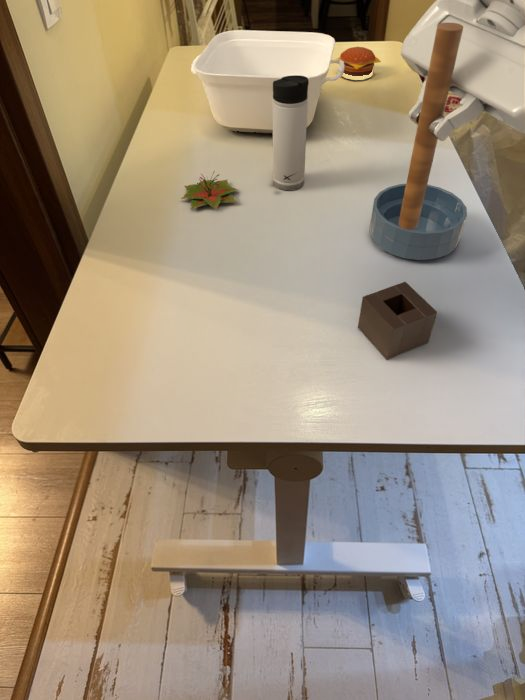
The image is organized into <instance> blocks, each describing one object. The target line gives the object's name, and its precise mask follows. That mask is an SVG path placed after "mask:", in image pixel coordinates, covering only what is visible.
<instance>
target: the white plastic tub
mask: <svg viewBox="0 0 525 700" xmlns="http://www.w3.org/2000/svg"><path fill="white" fill-rule="evenodd" d="M335 46H336V40H335V38H334V37H332V36H331V35H329V34H325V33H322V32H314V31H313V32H309V31H283V30H282V31H280V30H278V31H277V30H256V29H255V30H251V29H235V30H234V29H233V30H227V31H222V32H221V33H217V34H215V35H214V36H212V39H211V40H210V41H209V42H208V44H207V45H206V47H205V48H204V49H203V51H202V52H201V53H200V54H198V55H197V56H196V57H194V59H193V60H192V63H191V65H190V72H191V73H192V74H193V75H195V76H197V77H198V78H199V79H200V81H201V83H202V85H203V89H204V92H205V96H206V98H207V101H208V105H209V108H210V111H211V114H212V117H213V119H214V121H216V122H217V123H218V125H220V126H222V127H223V128H225V129H226V130H228V131H232V132H237V131H239V133H254V132H256V134H257V133H258V134H271V133H272V135H273V82H274V81H277V80H279V79H282V77H285V76H293V75H299V76H305V77H307V78H308V81H309V85H308V92H307V93H308V100H307V101H308V104H307V127H306V129H307V128H308V127H309V126H310V125H311V123H312V122H313V120H314V117H315V114H316V110H317V106H318V103H319V97H320V94H322V93H321V92H322V90H323V86H324V85H325V83H327V82H336V81H338V80H339V79H341V78H342V75H343V72H344V62H343V61H342V60H339V59H337V58H335V59H336V60H335V59H332V58H333V54H334V50H335ZM332 64H337V65H338V68H337V73H336V74H335V75H334V76H332V77H327V76H328V73H329V70H330V66H331V65H332Z"/></svg>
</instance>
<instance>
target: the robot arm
mask: <svg viewBox="0 0 525 700" xmlns="http://www.w3.org/2000/svg"><path fill="white" fill-rule="evenodd" d="M441 23H457V24H460V25H462V26H463V32H462V36H461V40H460V45H459V49H458V53H457V58H456V62H455V66H454V71H453V75H452V79H451V84H450V88H449V92H448V93H451V94H452V95H454V96H456V97H458V98H460V101H459V103H458V104H459V105H460V106H459V107H457V108H456V109H454V110H452V111H451V112H449V113H447V114H446V115H445V116H444V115H443V116H442V115H439V116H438V117H437V118H436V119H435V121H434V122H433V123H431V124H430V126H429V131H430V132H431V133H432V135H433V136H435V137H436V138H437V139H438V141H440V142H444V141H446V140H447V138H449V136H450V135H451V134H452V133H453V132H454V131H455V130H457V129H459V128H461V127H465V125H467V124H470V123H472V122H474V121H476V119H478V117H479V116H480V115H481V114H482V113H486V114H488V115H489V116H491V117H493V118H494V119H496V120H498V121H500V122H502V123H503V124H505V125H507V126H508V127H511V128H512V129H513V130H515V131H517V132H519V133H521V134H524V135H525V0H435V1H433V3H432V4H431V5H430V6H429V8H428V9H427V10H425V12H424V14H423V15H422V16H421V17H420V19H419V20H418V21H417V22H416V23H415V25H414V26H413V27H412V29H411V30H410V31H409V33H408V34H407V35H406V37H405V39H404V40H403V41H402V45H401V48H400V56H401V57H402V59H403V60H404V61H405V63H406V64H407V66H408V67H409V68H410V70H411V71H412V72H414V73H416V74H418V75H419V76H421V77H422V78H425V80H424V81H423V83H422V86H421V89H420V93H419V95H418V99H417V101H416V103H415V104H414V105H413V107H412V108H411V109H410V110H409V111H408V113H407V117H408V118H409V120H411V122H412V123H414V124H415V125H417V126H418V121H419V116H420V111H421V106H422V101H423V96H424V91H425V86H426V80H427V75H428V70H429V65H430V60H431V55H432V50H433V45H434V40H435V35H436V30H437V26H438V24H441Z"/></svg>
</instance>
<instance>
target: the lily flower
mask: <svg viewBox="0 0 525 700" xmlns="http://www.w3.org/2000/svg"><path fill="white" fill-rule="evenodd" d="M214 173H215V170H213V172H212V175H211V177H210V179H209V177H208V176H206V177H205V176H204V174H203V173H200V175H201V176H202V177H201V176H199V178H198V180H199V182H197V183H196V184H195V183H194V184H188V185H184V188H185V189H186V191H187V192H186V193H184V195H183V196H182V197H180V200H183V199H185V200H186V199H191V201H190V207H191V208H190V210H194V209H197V208H199V207H202V206H207V205H209V206H211V208H214V210H216V211H217V209H218V207H219V205H220V203H237V200H236V199H235V197H234V196H233V195H232V194H231V193H233V192H236V191H239V189H238V188H235V187H233V186H231V185H229V182H228V179H223V180H218V178H217V177H219V176H220V173H219V174H217V175H216V176H215V177H214V178H213V176H214Z"/></svg>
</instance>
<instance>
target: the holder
mask: <svg viewBox="0 0 525 700" xmlns="http://www.w3.org/2000/svg"><path fill="white" fill-rule="evenodd" d="M361 298H362V299H361V304H360V305H361V306H360V311H359V317H358V323H357V329H358V330H359V331H360V332H361V333H362V334H363V336H365V337H366V339H367V340H368V341H369V342H370V344H371V345H372V346H373V347H374V348H375V349H376V350H377V351H378V352H379V354H380V355H381V356H382V357H383V358H384V359H385V361H387V360H389V359H392V358H394V357H396V356H399V355H401V354H404V353H407V352H409V351H411V350H414V349H416V348H419V347H421V346H424V345H426V344H428V343H429V341H430V338H431V334H432V331H433V328H434V325H435V322H436V318H437V317H438V311H437V310H436V309H435V308H434V307H433V306H432V305H431V304H429V303H428V302H427V300H425V298H423V297H422V296H421V295H420V294H419V293H418V292H417V291H416V290H415V289H414V288H413V287H412V286H411V285H409V283H408V282H407V281H402V282H400V283H398V284H394V285H392V286H389V287H386V288H383V289H380V290H377V291H374V292H372V293H369V294H367V295H364V296H362V297H361Z"/></svg>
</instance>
